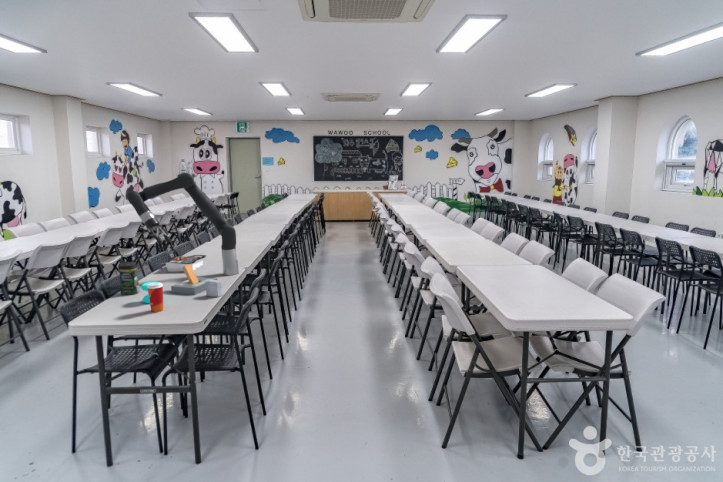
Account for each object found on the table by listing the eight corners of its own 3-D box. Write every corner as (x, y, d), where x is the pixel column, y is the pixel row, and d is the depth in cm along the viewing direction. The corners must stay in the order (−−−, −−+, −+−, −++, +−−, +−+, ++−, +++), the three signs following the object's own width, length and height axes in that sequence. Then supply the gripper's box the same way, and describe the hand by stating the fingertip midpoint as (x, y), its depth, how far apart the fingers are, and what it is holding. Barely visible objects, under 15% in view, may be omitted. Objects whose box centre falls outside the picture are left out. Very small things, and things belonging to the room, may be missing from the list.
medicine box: (223, 295, 257) (221, 280, 256) (218, 297, 253) (217, 282, 252) (211, 294, 260) (210, 279, 259) (206, 296, 256) (205, 281, 254)
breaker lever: (191, 285, 269) (182, 267, 269) (196, 283, 274) (187, 265, 274) (193, 284, 269) (184, 266, 268) (198, 282, 273) (190, 264, 273)
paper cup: (152, 308, 236) (149, 282, 233) (167, 307, 237) (165, 281, 234) (146, 313, 228) (143, 286, 226) (162, 312, 229) (159, 285, 226)
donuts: (153, 280, 254) (164, 282, 248) (155, 297, 255) (166, 300, 250) (136, 284, 245) (148, 286, 240) (138, 302, 247) (149, 305, 242)
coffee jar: (118, 295, 261) (114, 263, 258) (125, 291, 269) (122, 260, 265) (135, 295, 261) (131, 263, 257) (142, 291, 268) (138, 260, 265)
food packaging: (176, 255, 337) (206, 254, 336) (177, 265, 338) (207, 264, 337) (161, 262, 312) (193, 262, 312) (162, 273, 313) (194, 272, 313)
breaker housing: (171, 292, 264) (170, 285, 263) (195, 283, 284) (195, 276, 284) (194, 294, 259) (194, 287, 258) (217, 284, 280) (217, 278, 279)
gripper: (146, 217, 265) (162, 239, 265) (161, 216, 279) (176, 237, 279) (137, 224, 267) (153, 247, 266) (152, 223, 281) (167, 244, 280)
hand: (165, 242), depth 273 cm, fingers open, 8 cm apart
